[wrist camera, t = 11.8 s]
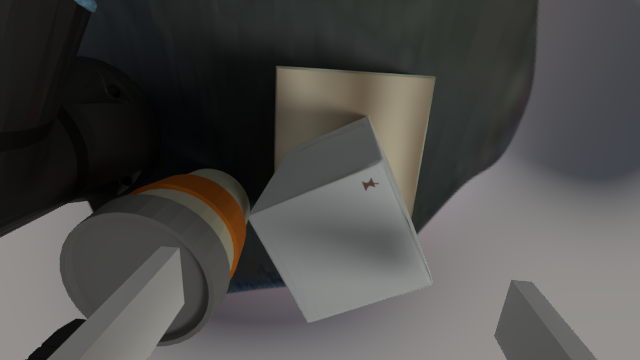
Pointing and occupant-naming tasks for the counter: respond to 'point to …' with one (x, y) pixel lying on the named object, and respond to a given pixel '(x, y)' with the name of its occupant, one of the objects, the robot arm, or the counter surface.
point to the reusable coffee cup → (162, 244)
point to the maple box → (356, 113)
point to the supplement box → (339, 224)
